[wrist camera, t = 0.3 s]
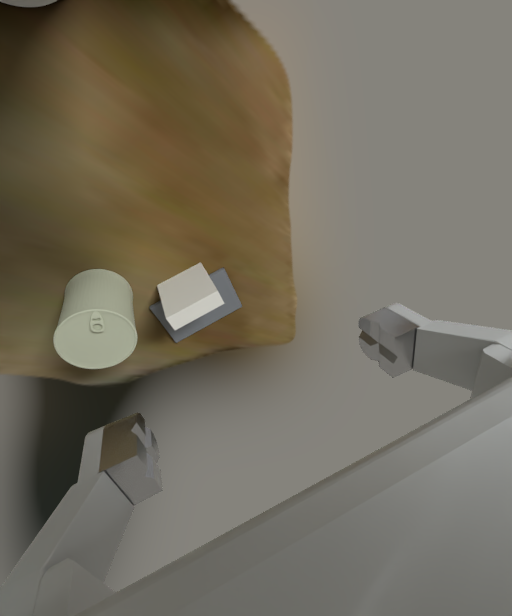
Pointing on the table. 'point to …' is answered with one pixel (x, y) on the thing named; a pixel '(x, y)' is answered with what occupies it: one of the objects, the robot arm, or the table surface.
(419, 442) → the robot arm
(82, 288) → the pale green cylinder
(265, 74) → the table surface
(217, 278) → the mat
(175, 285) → the white box
